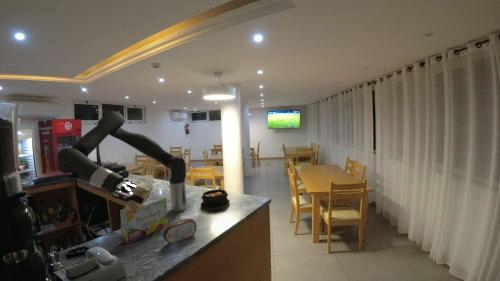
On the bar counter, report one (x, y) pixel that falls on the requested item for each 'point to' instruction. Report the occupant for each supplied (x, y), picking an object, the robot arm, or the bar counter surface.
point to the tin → (179, 231)
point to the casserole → (215, 199)
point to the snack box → (144, 220)
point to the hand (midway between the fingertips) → (145, 198)
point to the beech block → (141, 191)
